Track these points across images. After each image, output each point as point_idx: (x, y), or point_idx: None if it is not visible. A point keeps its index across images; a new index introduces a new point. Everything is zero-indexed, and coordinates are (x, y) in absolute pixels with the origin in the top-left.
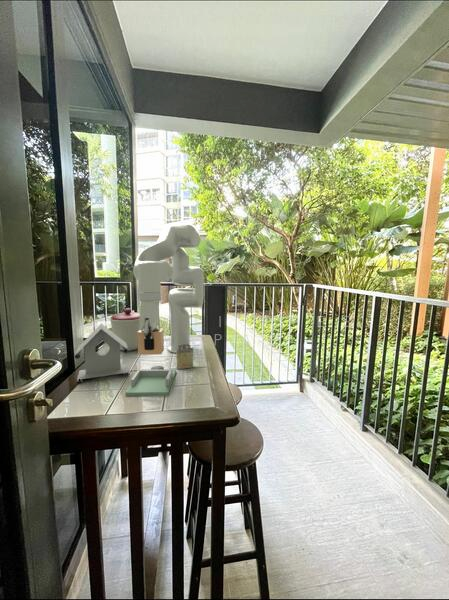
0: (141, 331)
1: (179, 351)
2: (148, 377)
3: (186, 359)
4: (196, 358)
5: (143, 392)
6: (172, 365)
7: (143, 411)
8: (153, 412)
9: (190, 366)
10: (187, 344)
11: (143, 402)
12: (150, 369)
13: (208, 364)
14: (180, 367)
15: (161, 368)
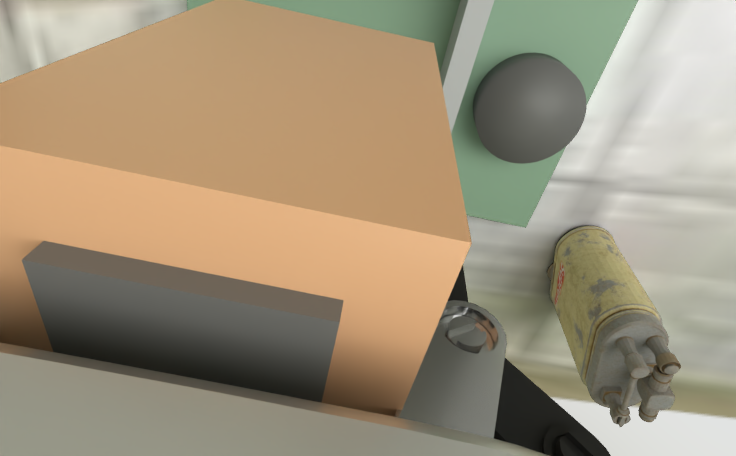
0: (36, 248)
1: (604, 330)
2: (438, 34)
3: (569, 317)
4: (694, 341)
5: (187, 6)
6: (657, 204)
7: (15, 13)
8: (19, 70)
9: (552, 299)
10: (649, 415)
11: (113, 7)
12: (609, 47)
13: (558, 370)
14: (560, 250)
15: (511, 147)
